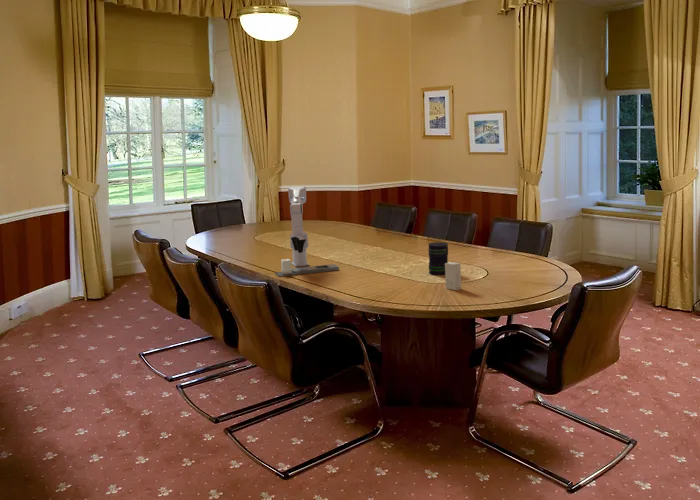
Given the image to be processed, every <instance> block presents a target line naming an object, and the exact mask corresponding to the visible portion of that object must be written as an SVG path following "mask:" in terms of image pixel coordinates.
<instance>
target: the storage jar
mask: <svg viewBox="0 0 700 500" xmlns="http://www.w3.org/2000/svg"><path fill="white" fill-rule="evenodd" d="M427 249H428V254H427V255H428V260H429V262H428V271H429V272H428V274H429V275H431V276H445V263H448V262H449V261H448V260H449V259H448V256H449V243H448V242H442V241H441V242H438V241H437V242H430V243H428V248H427Z"/></svg>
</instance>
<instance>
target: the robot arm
mask: <svg viewBox="0 0 700 500" xmlns="http://www.w3.org/2000/svg"><path fill="white" fill-rule="evenodd" d="M287 194H288V201H289V203H290V204H289V211H290V218H291V234H290V237H289V238H290V239H289V244H290V245H289V247H290V248H291V249H292V262H291V265H292V266H293V267H295V268H298V267H307V266H309V265H310V263H308V260H307V259H308V258H307V256H308V255H307V249H308V248H309V236H308V233H307V232H305V231H304V226H303V225H304V223H303V214H304V213H303V212H304V210H303V209H304V208H303V204H305V203H306V202H307V188H306V185H304V186H303V185H302V186H288V187H287Z"/></svg>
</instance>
